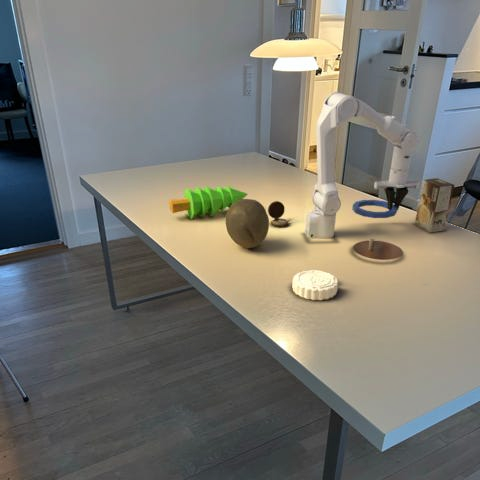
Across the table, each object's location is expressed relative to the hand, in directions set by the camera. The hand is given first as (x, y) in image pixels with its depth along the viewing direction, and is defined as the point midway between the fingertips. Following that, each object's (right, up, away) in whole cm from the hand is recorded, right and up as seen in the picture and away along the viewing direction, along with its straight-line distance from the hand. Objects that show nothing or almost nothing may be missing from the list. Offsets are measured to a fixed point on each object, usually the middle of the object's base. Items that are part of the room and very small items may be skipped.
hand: (392, 209), depth 165 cm
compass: (-37, -3, +10) cm, 38 cm away
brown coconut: (-49, -14, -8) cm, 52 cm away
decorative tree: (-62, +2, +17) cm, 65 cm away
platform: (-9, -16, -12) cm, 22 cm away
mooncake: (-32, -30, -33) cm, 55 cm away
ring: (-6, -1, 0) cm, 6 cm away
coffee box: (+15, -5, +8) cm, 18 cm away
